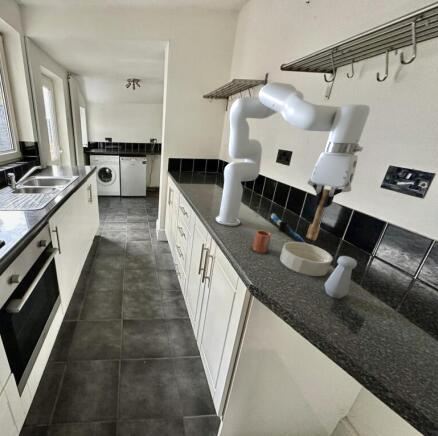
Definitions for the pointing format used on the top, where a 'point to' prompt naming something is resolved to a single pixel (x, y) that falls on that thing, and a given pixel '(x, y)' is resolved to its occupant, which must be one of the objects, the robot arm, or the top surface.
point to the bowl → (306, 258)
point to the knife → (286, 228)
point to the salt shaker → (340, 277)
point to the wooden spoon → (317, 217)
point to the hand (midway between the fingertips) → (321, 205)
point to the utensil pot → (261, 241)
